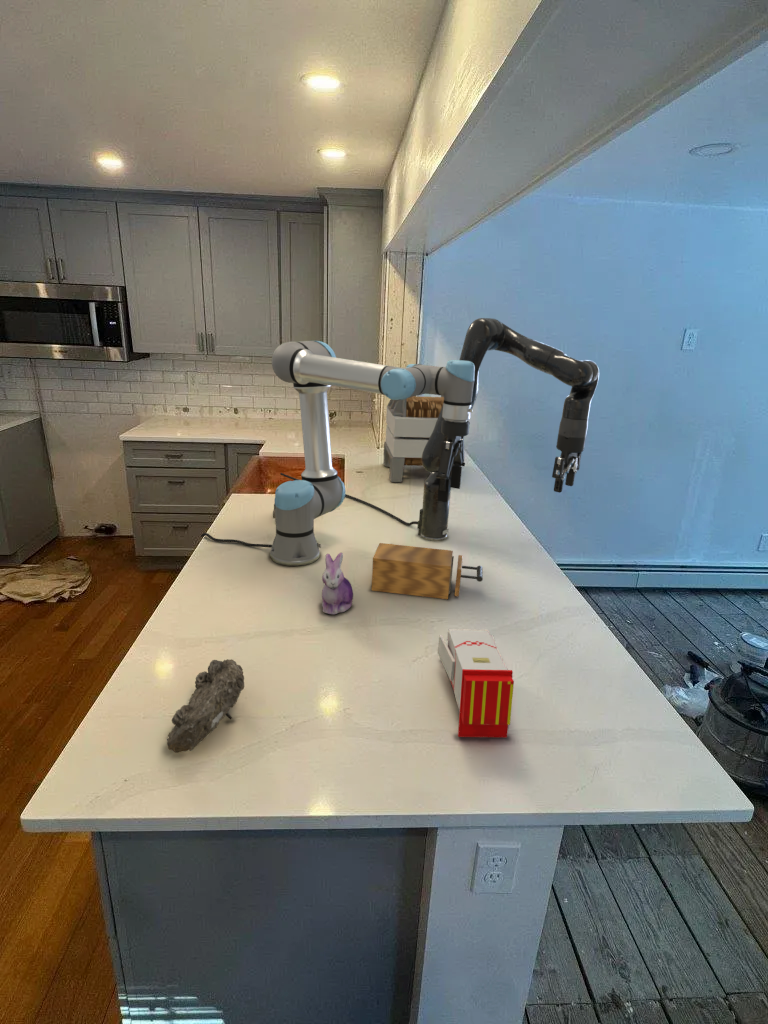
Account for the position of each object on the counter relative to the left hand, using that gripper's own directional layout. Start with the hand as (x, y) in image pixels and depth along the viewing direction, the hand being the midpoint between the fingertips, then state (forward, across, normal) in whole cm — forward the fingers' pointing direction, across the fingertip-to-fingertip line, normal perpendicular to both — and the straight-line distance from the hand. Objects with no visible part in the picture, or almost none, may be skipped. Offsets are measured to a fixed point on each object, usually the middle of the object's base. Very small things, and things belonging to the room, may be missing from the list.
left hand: (449, 494), depth 160 cm
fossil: (+26, -78, +23) cm, 85 cm away
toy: (+26, -50, -20) cm, 60 cm away
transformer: (+26, +105, +40) cm, 115 cm away
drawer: (+25, -8, 0) cm, 26 cm away
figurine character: (+26, +21, +66) cm, 74 cm away
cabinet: (+26, -10, +6) cm, 28 cm away
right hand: (-2, +16, -30) cm, 34 cm away
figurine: (+26, -30, +20) cm, 44 cm away
